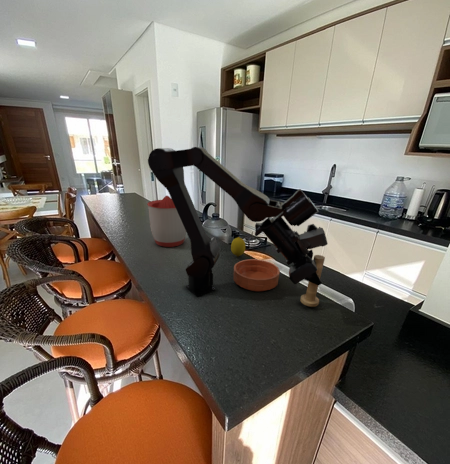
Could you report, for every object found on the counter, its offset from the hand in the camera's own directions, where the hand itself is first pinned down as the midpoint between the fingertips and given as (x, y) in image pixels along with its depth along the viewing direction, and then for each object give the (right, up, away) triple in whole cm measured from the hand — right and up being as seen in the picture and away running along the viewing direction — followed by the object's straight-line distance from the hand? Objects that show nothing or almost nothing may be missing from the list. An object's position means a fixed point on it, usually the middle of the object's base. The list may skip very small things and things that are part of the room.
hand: (319, 281), depth 65 cm
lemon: (-20, +8, +32) cm, 38 cm away
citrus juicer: (-48, +15, +43) cm, 66 cm away
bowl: (-15, -1, +14) cm, 21 cm away
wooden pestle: (-2, -6, +3) cm, 7 cm away
